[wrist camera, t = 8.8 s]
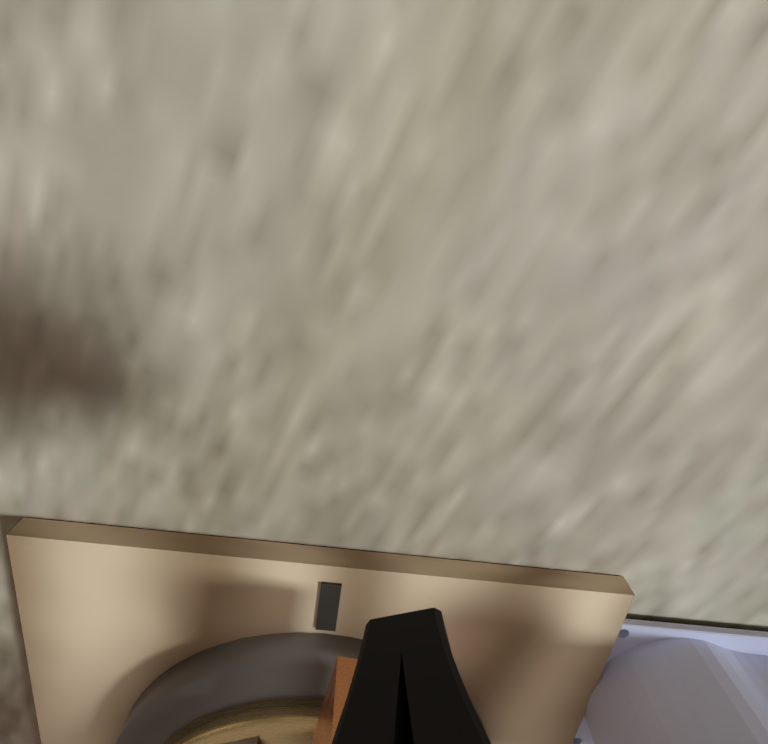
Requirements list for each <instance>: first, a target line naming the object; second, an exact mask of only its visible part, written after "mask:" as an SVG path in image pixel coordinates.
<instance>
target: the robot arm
mask: <svg viewBox="0 0 768 744" xmlns="http://www.w3.org/2000/svg"><path fill="white" fill-rule="evenodd" d="M332 744H491V742H490V740H489V738H488V736H487V734H486V732H485V730H484V728H483V725H482V723H481V721H480V719H479V717H478V715H477V712H476V710H475V708H474V706H473V704H472V702H471V699H470V697H469V695H468V693H467V691H466V688H465V686H464V683H463V681H462V679H461V676H460V674H459V671H458V668H457V666H456V663H455V660H454V658H453V655H452V652H451V648H450V644H449V640H448V636H447V632H446V628H445V624H444V620H443V616H442V612H441V611H440V610H438V609H436V608H429V609H423V610H418V611H413V612H407V613H402V614H397V615H391V616H386V617H381V618H375V619H370V620H369V622H368V623H367V624H366V626H365V631H364V636H363V640H362V644H361V648H360V653H359V656H358V660H357V664H356V668H355V671H354V675H353V678H352V682H351V685H350V688H349V692H348V695H347V698H346V701H345V704H344V707H343V710H342V714H341V717H340V720H339V723H338V726H337V729H336V732H335V735H334V738H333V741H332ZM572 744H768V632H764V631H754V630H743V629H732V628H721V627H711V626H700V625H689V624H678V623H668V622H657V621H646V620H636V619H625V620H624V622H623V625H622V627H621V630H620V632H619V634H618V637H617V639H616V641H615V644H614V646H613V648H612V651H611V653H610V656H609V658H608V660H607V663H606V665H605V667H604V670H603V672H602V674H601V677H600V679H599V682H598V684H597V686H596V687H595V689H594V691H593V692H592V694H591V696H590V698H589V701H588V704H587V708H586V712H585V715H584V717H583V719H582V722H581V724H580V726H579V729H578V731H577V733H576V736H575V738H574V741H573V743H572Z"/></svg>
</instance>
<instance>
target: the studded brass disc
mask: <svg viewBox="0 0 768 744" xmlns="http://www.w3.org/2000/svg"><path fill="white" fill-rule="evenodd" d="M357 660H358V659H354V658H348V657H342V656H337V659H336V663H335V666H334V669H333V672H332V676H331V679H330V682H329V685H328V688H327V692H326V695H325V698H324V700H321V699H301V698H287V699H272V700H263V701H257V702H251V703H244V704H240V705H237V706H233V707H229V708H225V709H222V710H219V711H216V712H214V713H211V714H209V715H206V716H203V717H201V718H199V719H197V720H195V721H194V722H192V723H190V724H188V725H186V726H184V727H183V728H181V729H180V730H179V731H177V732H176V733H174V734H173V735H171V736H170V737H169V738H168V739H167V740H166V741H165V742H164V743H163V744H332V741H333V738H334V735H335V732H336V729H337V726H338V723H339V720H340V717H341V714H342V710H343V707H344V704H345V701H346V698H347V695H348V692H349V688H350V685H351V682H352V678H353V675H354V671H355V668H356V664H357Z"/></svg>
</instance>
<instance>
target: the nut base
mask: <svg viewBox="0 0 768 744" xmlns="http://www.w3.org/2000/svg"><path fill="white" fill-rule="evenodd" d="M6 537H7V543H8V549H9V555H10V561H11V567H12V573H13V579H14V585H15V591H16V596H17V602H18V608H19V614H20V620H21V626H22V632H23V638H24V644H25V650H26V656H27V662H28V668H29V674H30V680H31V686H32V692H33V697H34V703H35V709H36V715H37V721H38V727H39V733H40V739H41V744H163V743H164V742H165V741H166V740H167V739H168V738H169V737H170V736H171V735H173V734H174V733H176V732H177V731H179V730H180V729H181V728H183V727H184V726H186V725H188V724H190V723H192V722H194V721H195V720H197V719H199V718H201V717H203V716H206V715H209V714H211V713H214V712H216V711H219V710H222V709H225V708H229V707H233V706H237V705H240V704H244V703H251V702H257V701H263V700H272V699H287V698H301V699H321V700H324V698H325V695H326V692H327V688H328V685H329V682H330V679H331V676H332V672H333V669H334V666H335V663H336V659H337V656H342V657H348V658H354V659H358V656H359V653H360V648H361V644H362V640H363V636H364V631H365V626H366V624H367V623H368V622H369V620H370V619H375V618H381V617H386V616H391V615H397V614H402V613H407V612H413V611H418V610H423V609H429V608H436V609H438V610H440V611H441V612H442V616H443V620H444V624H445V628H446V632H447V636H448V640H449V644H450V648H451V652H452V655H453V658H454V660H455V663H456V666H457V668H458V671H459V674H460V676H461V679H462V681H463V683H464V686H465V688H466V691H467V693H468V695H469V697H470V699H471V702H472V704H473V706H474V708H475V710H476V712H477V715H478V717H479V719H480V721H481V723H482V725H483V728H484V730H485V732H486V734H487V736H488V738H489V740H490V742H491V744H572V743H573V741H574V738H575V736H576V733H577V731H578V729H579V726H580V724H581V722H582V719H583V717H584V715H585V712H586V708H587V704H588V701H589V698H590V696H591V694H592V692H593V691H594V689H595V687H596V686H597V684H598V682H599V679H600V677H601V674H602V672H603V670H604V667H605V665H606V663H607V660H608V658H609V656H610V653H611V651H612V648H613V646H614V644H615V641H616V639H617V637H618V634H619V632H620V630H621V627H622V625H623V622H624V620H625V618H626V615H627V613H628V611H629V608H630V606H631V604H632V601H633V599H634V597H635V595H634V593H633V591H632V590H631V588H630V586H629V585H628V583H627V581H626V580H625V578H624V577H622V576H612V575H602V574H592V573H581V572H571V571H561V570H551V569H541V568H531V567H521V566H511V565H501V564H490V563H480V562H470V561H460V560H450V559H440V558H430V557H420V556H410V555H399V554H389V553H379V552H369V551H359V550H349V549H339V548H329V547H318V546H308V545H298V544H288V543H278V542H268V541H258V540H248V539H238V538H227V537H217V536H207V535H197V534H187V533H177V532H167V531H157V530H147V529H136V528H126V527H116V526H106V525H96V524H86V523H76V522H66V521H55V520H45V519H35V518H25V517H23V518H22V519H21V520H20V521H19V522H18V523H17V524H16V525H15V526H14V527H13V528H12V529H11V530H10V531H9V532H8V533H7V534H6Z"/></svg>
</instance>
